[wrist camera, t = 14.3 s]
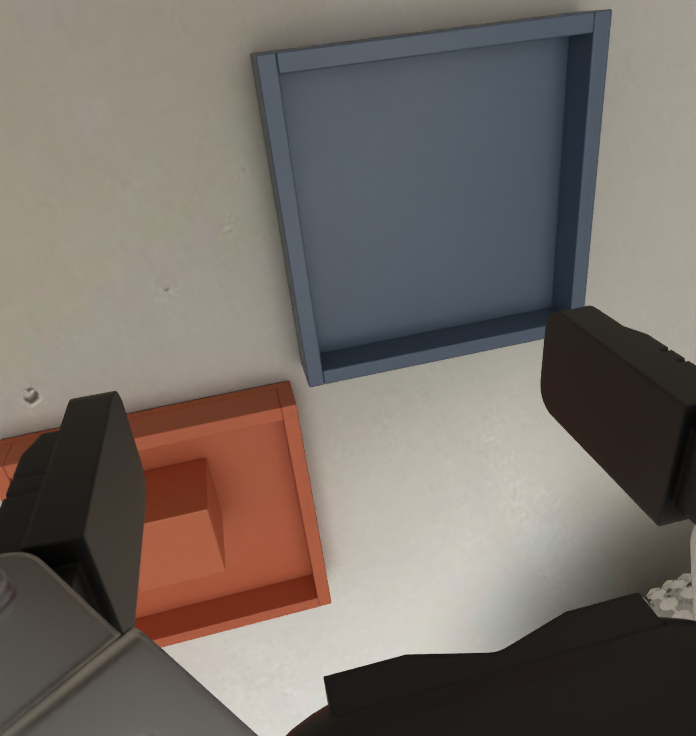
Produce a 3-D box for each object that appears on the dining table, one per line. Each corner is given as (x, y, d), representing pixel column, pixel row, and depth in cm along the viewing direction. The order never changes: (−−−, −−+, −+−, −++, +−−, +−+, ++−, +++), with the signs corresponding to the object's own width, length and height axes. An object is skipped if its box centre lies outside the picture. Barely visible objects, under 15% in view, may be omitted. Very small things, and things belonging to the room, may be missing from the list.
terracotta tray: (92, 631, 39) (85, 667, 37) (-1, 439, 31) (-15, 470, 29) (324, 572, 41) (331, 603, 39) (289, 380, 33) (296, 404, 31)
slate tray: (301, 364, 33) (309, 388, 31) (249, 53, 26) (255, 54, 23) (558, 312, 35) (582, 331, 33) (579, 11, 28) (612, 8, 26)
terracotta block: (147, 533, 35) (141, 592, 32) (125, 474, 33) (116, 530, 30) (222, 515, 36) (226, 571, 32) (206, 456, 34) (207, 509, 30)
